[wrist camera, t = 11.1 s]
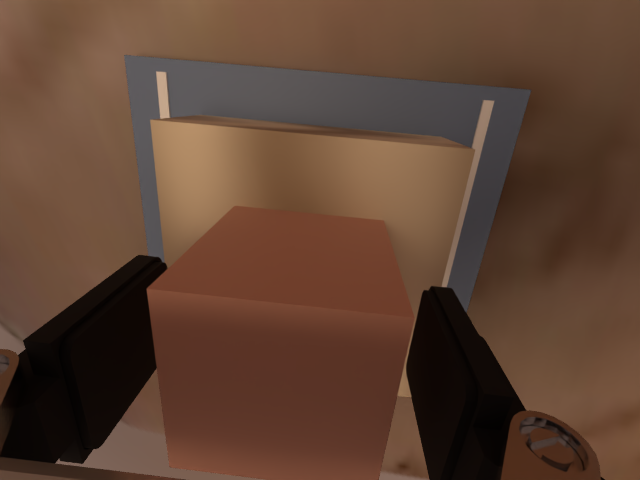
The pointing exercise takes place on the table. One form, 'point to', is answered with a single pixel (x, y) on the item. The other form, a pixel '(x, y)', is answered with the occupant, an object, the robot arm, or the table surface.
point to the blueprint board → (338, 111)
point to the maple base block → (314, 184)
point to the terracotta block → (281, 346)
